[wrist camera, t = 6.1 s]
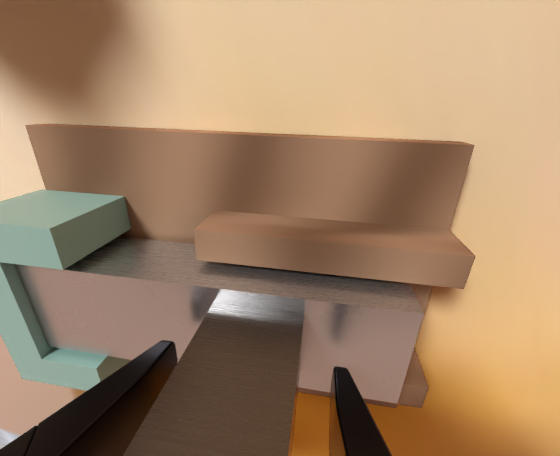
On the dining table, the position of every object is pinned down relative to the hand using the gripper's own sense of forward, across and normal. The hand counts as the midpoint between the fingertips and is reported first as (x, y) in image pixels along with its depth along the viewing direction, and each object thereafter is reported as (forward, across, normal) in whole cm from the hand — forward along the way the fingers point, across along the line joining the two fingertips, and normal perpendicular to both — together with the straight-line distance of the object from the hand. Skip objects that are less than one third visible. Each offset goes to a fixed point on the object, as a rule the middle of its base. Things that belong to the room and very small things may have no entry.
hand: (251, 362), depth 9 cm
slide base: (+5, +2, 0) cm, 5 cm away
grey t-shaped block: (+4, +2, 0) cm, 4 cm away
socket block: (+4, +9, 0) cm, 9 cm away
